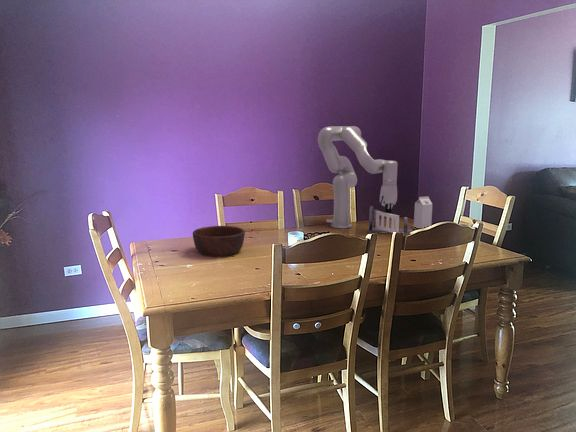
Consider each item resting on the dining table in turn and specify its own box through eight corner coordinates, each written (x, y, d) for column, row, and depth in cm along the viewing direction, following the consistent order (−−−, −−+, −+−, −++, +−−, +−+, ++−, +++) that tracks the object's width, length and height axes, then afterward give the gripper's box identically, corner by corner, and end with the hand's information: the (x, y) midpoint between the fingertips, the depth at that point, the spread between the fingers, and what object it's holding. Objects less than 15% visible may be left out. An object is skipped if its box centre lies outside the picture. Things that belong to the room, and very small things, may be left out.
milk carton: (413, 228, 297) (415, 196, 293) (423, 227, 300) (424, 195, 296) (421, 230, 291) (423, 198, 287) (431, 229, 294) (433, 197, 290)
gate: (372, 227, 289) (373, 209, 287) (375, 227, 290) (375, 209, 288) (396, 234, 273) (397, 215, 271) (398, 233, 274) (399, 214, 272)
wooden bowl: (236, 260, 231) (235, 238, 229) (185, 257, 236) (184, 235, 234) (251, 246, 255) (250, 226, 253) (204, 244, 260) (203, 224, 258)
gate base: (367, 232, 285) (368, 207, 283) (368, 229, 294) (369, 205, 291) (412, 234, 281) (414, 209, 278) (412, 231, 289) (413, 206, 286)
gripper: (393, 181, 286) (391, 213, 289) (375, 183, 277) (373, 216, 280) (403, 182, 280) (401, 215, 284) (385, 184, 271) (384, 218, 275)
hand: (388, 215), depth 282 cm, fingers closed
